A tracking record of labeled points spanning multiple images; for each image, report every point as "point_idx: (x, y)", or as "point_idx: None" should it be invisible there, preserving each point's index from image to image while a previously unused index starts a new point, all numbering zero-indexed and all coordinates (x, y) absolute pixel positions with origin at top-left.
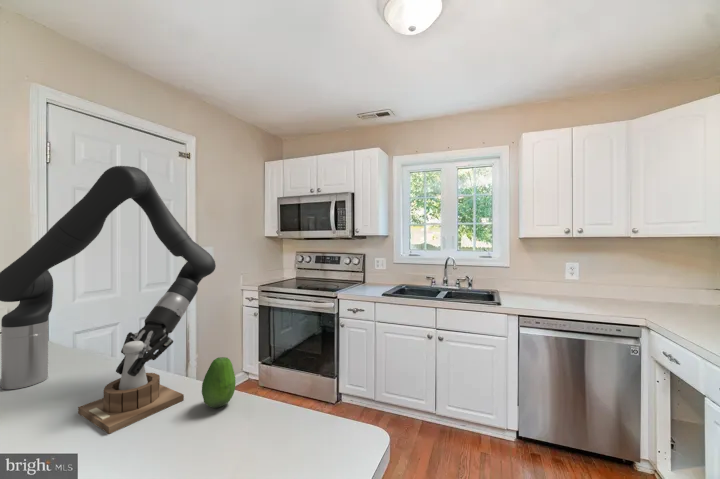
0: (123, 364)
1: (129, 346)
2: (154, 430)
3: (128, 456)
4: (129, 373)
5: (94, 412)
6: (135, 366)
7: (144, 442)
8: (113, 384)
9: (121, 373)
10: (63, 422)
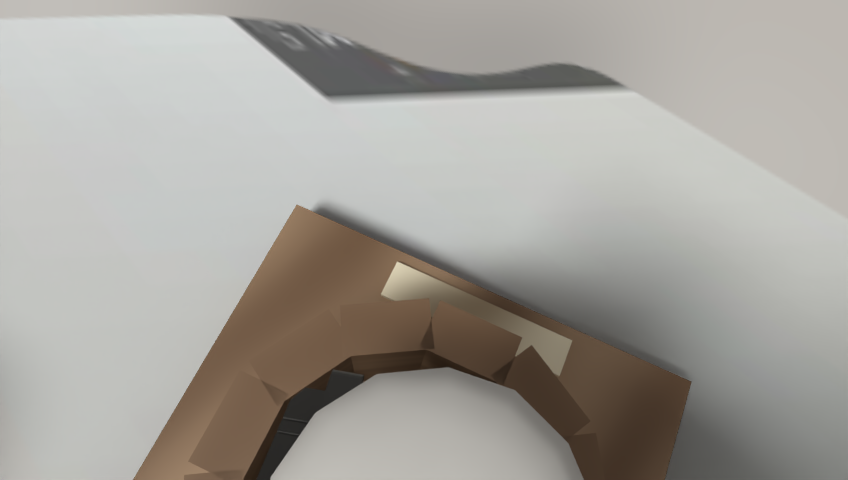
0: None
1: (387, 382)
2: (71, 265)
3: (82, 91)
4: (335, 371)
5: (510, 318)
6: None
7: (66, 175)
8: None
9: None
10: (650, 297)
